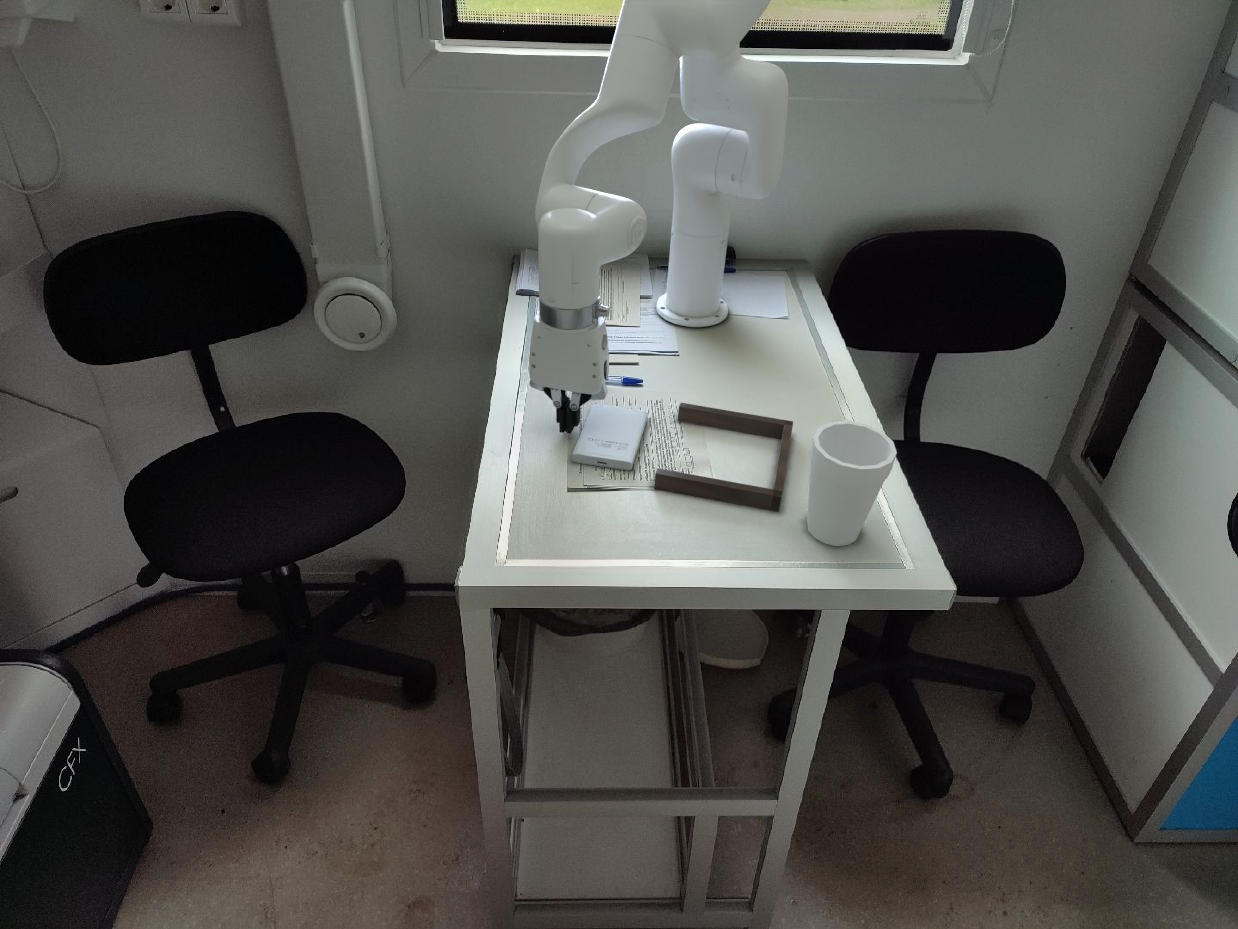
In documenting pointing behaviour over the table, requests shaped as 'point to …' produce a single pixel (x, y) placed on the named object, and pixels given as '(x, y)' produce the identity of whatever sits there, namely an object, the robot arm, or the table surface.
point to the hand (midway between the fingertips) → (568, 427)
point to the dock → (723, 488)
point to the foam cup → (845, 478)
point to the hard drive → (610, 437)
